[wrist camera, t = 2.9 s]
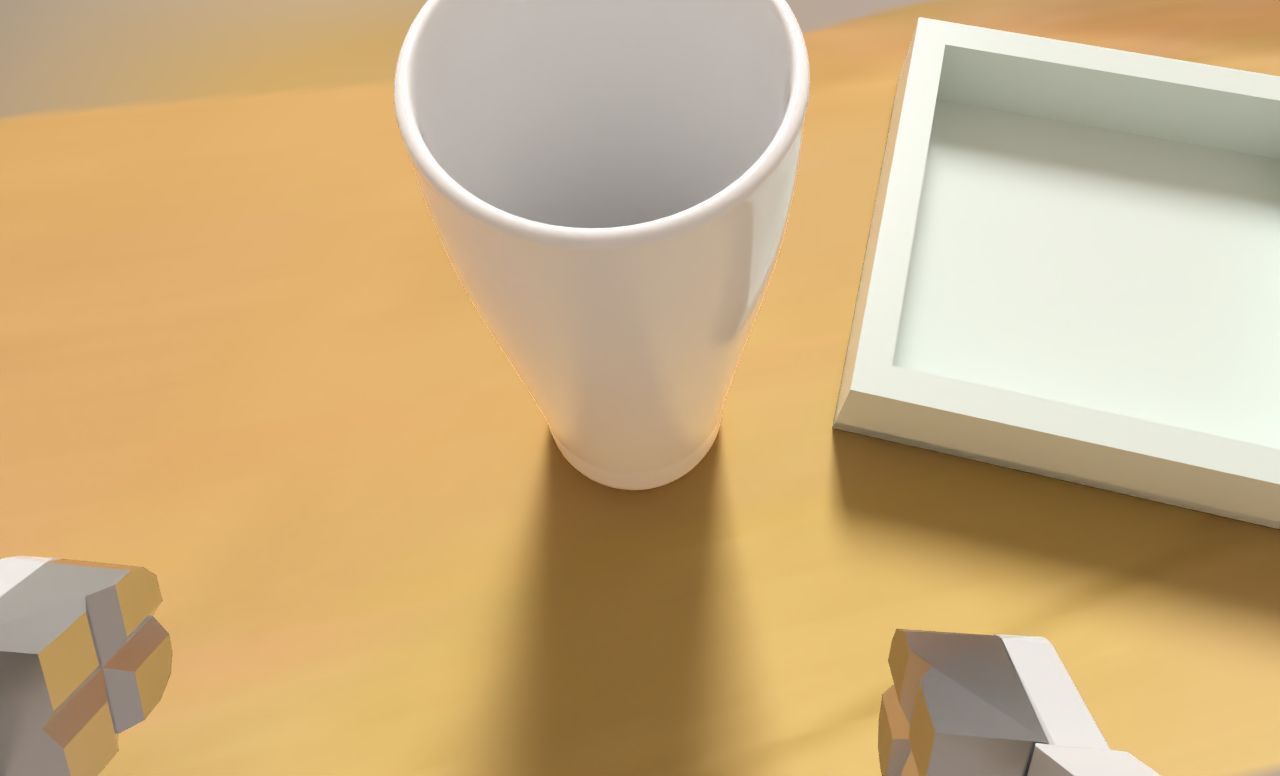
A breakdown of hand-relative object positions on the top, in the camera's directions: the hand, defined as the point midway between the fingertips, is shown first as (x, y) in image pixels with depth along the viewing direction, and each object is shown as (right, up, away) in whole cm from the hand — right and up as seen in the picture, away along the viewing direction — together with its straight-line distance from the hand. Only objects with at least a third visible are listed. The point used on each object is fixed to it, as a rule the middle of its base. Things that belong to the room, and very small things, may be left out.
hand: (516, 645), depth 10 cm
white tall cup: (+1, +2, +18) cm, 18 cm away
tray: (+16, +6, +19) cm, 26 cm away
